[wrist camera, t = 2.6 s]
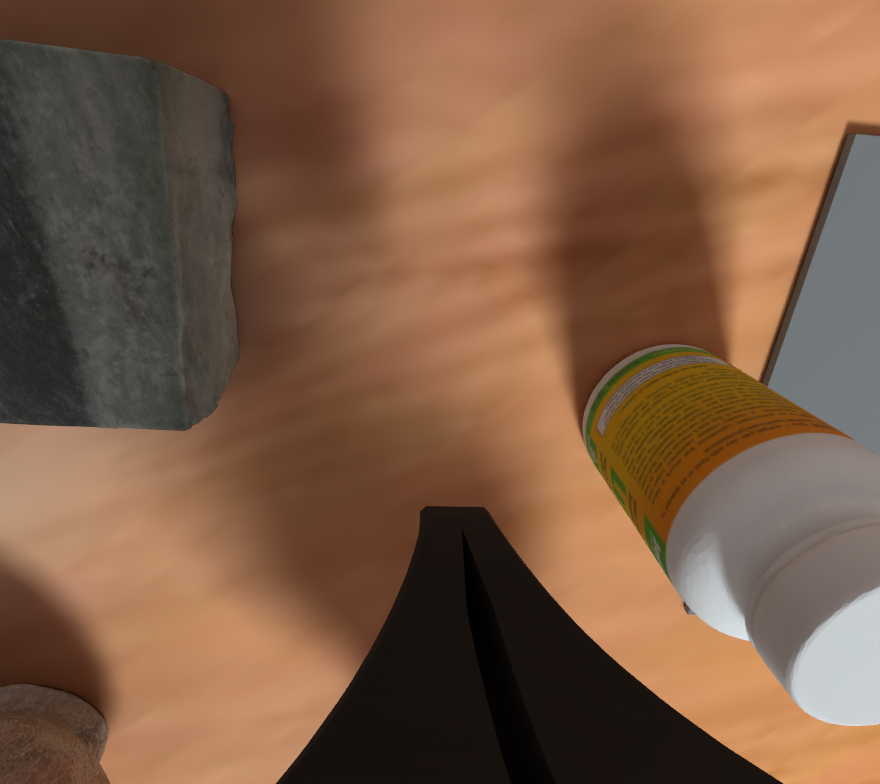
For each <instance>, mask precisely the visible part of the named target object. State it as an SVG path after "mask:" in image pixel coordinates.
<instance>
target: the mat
mask: <svg viewBox="0 0 880 784" xmlns="http://www.w3.org/2000/svg"><path fill="white" fill-rule="evenodd" d="M762 384H764V385H765V386H767V387H768V388H770V389H772V390H773V391H775V392H777V393H778V394H780V395H781V396H783V397H785V398H786V399H788V400H790V401H791V402H793V403H795V404H796V405H798V406H800V407H801V408H803V409H805V410H806V411H808V412H809V413H811V414H813V415H814V416H816V417H818V418H819V419H821V420H823V421H824V422H826V423H828V424H829V425H831V426H833V427H834V428H836V429H838V430H839V431H841V432H843V433H844V434H846V435H848V436H850V437H851V438H853V439H854V440H856V441H857V442H859V443H860V444H862V445H864V446H865V447H867V448H868V449H870V450H871V451H873V452H874V453H876V454H877V455H879V456H880V136H873V135H862V134H849V135H847V138H846V141H845V144H844V147H843V150H842V153H841V156H840V159H839V162H838V164H837V167H836V170H835V173H834V176H833V179H832V182H831V185H830V188H829V191H828V193H827V196H826V199H825V202H824V205H823V208H822V211H821V214H820V217H819V220H818V222H817V225H816V228H815V231H814V234H813V237H812V240H811V243H810V246H809V249H808V251H807V254H806V257H805V260H804V263H803V266H802V269H801V272H800V275H799V278H798V280H797V283H796V286H795V289H794V292H793V295H792V298H791V301H790V304H789V306H788V309H787V312H786V315H785V318H784V321H783V324H782V327H781V330H780V333H779V335H778V338H777V341H776V344H775V347H774V350H773V353H772V356H771V359H770V362H769V364H768V367H767V370H766V373H765V376H764V379H763V382H762ZM684 609H685V611H686V612H687V614H695V613H694V612H693V611H692V610H691V609H690V608H689V607H688V606H687V604H686V605H685V608H684Z"/></svg>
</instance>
